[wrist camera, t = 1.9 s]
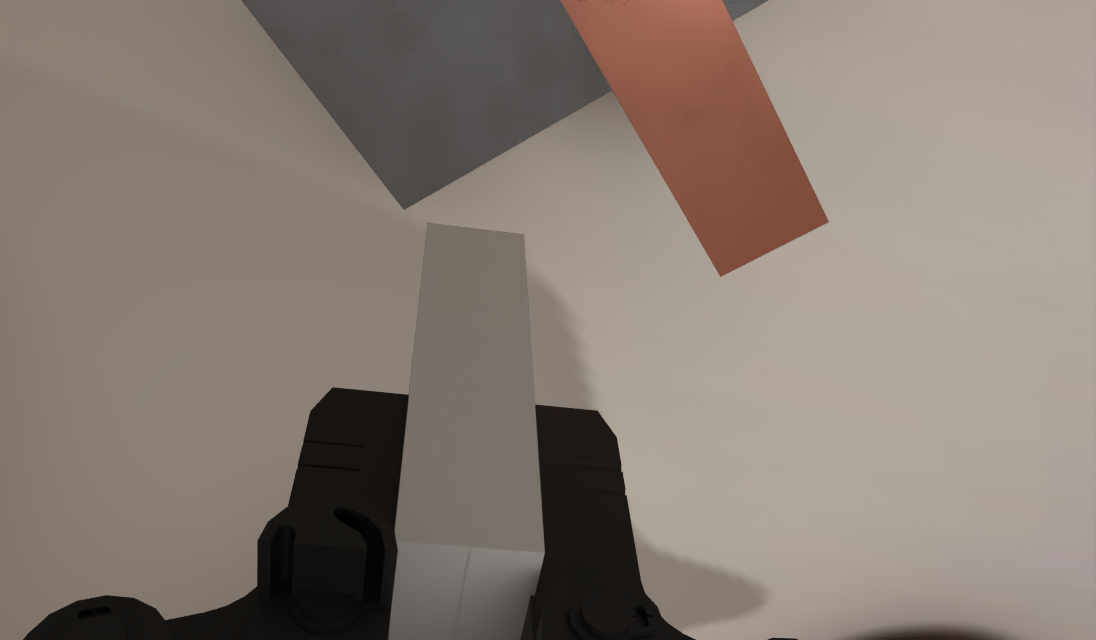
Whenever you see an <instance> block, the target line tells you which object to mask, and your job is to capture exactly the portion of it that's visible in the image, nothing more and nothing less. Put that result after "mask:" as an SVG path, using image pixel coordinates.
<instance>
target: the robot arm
mask: <svg viewBox="0 0 1096 640" xmlns="http://www.w3.org/2000/svg"><path fill="white" fill-rule="evenodd" d="M257 568H258V570H257V571H258V572H257V581H258V582H257V587H256V588H254V589H253V590H252V591H251V592H250V593H248V594H247V595H246V596H245V597H243V598H241V599H239V600H237V601H235V602H233V603H231V604H229V605H227V606H225V607H221V608H218V609H215V610H211V611H208V612H205V613H199V614H194V615H189V616H184V617H180V618H175V619H169V620H164V618H163V617H162V616H161V615H160V613H159V612H158V611H157V609H156V608H154V607H152V606H149V605H147V604H145V603H143V602H141V601H139V600H137V599H135V598H129V597H119V596H108V595H106V596H101V597H95V598H90V599H85V600H79V601H76V602H74V603H72V604H70V605H68V606H66V607H64V608H61V609H59V610H57V611H55V612H53V613H51V614H49V615H48V616H47V617H46V618H45V619H44V620H43V621H42V622H41V623H39V624H38V625H37V626H36V627H35V628H34V629H33V630H32V631H30V633H28V634H27V636H26V637H25V638H24V639H23V640H695V639H693V638H691V637H689V636H687V635H685V634H683V633H681V632H680V631H678V630H677V629H675V628H674V627H673V626H671V625H670V624H668V623H667V622H666V621H665V620H664V619H663V618H662V617H661V614H660V612H659V609H658V607H657V606H656V605H655V603H654V602H652V601H651V599H650V598H649V597H648V596H647V595H646V594H645V592H644V589H643V586H642V583H641V579H640V573H639V567H638V561H637V555H636V549H635V543H634V537H633V531H632V525H631V519H630V513H629V507H628V501H627V495H625V484H624V478H623V472H621V460H620V454H619V448H618V442H617V437H616V436H615V434H614V433H613V432H612V430H611V429H610V427H609V426H608V425H607V423H606V422H605V421H604V419H603V418H602V416H601V415H600V414H599V412H598V411H595V410H584V409H574V408H563V407H554V406H543V405H535V396H534V381H533V366H532V350H531V336H530V320H529V304H528V289H527V274H526V258H525V243H524V234H516V233H508V232H499V231H491V230H483V229H475V228H466V227H458V226H450V225H442V224H433V223H428V224H427V233H426V242H425V251H424V261H423V269H422V278H421V287H420V296H419V305H418V314H417V323H416V332H415V341H414V350H413V359H412V368H411V377H410V387H409V395H405V394H395V393H384V392H374V391H364V390H354V389H344V388H332V389H331V390H330V391H329V392H328V393H327V394H326V395H325V396H324V398H322V399H321V400H320V402H319V403H318V404H317V405H316V406H315V407H314V408H313V409H312V410H311V411H310V415H309V420H308V424H307V428H306V432H305V437H304V442H303V446H302V449H301V453H300V458H299V462H298V469H297V470H296V474H295V479H294V483H293V487H292V491H291V496H290V500H289V504H288V507H286V508H285V509H284V510H283V511H281V512H280V513H279V514H277V515H276V516H275V517H274V518H272V519H271V520H270V521H268V523H267V525H266V526H265V528H264V530H263V532H262V534H261V536H260V537H259V539H258V567H257ZM768 640H798V639H791V638H771V639H768Z"/></svg>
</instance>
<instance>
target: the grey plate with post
mask: <svg viewBox="0 0 1096 640" xmlns="http://www.w3.org/2000/svg"><path fill="white" fill-rule="evenodd" d="M242 1H243V3H244V4H245V5H246V6H247V8H248V9H249V10H250V12H251V13H252V14H253V16H254V17H255V18H256V19H257V21H258V22H259V23H260V25H261V26H262V27H263V28H264V30H265V31H266V32H267V34H268V35H269V36H270V37H271V39H272V40H273V41H274V43H275V44H276V45H277V47H278V48H279V49H280V50H281V52H282V53H283V54H284V56H285V57H286V58H287V59H288V61H289V62H290V63H291V65H292V66H293V67H294V68H295V70H296V71H297V72H298V74H299V75H300V76H301V78H302V79H303V80H304V81H305V83H306V84H307V85H308V87H309V88H310V89H311V90H312V92H313V93H314V94H315V96H316V97H317V98H318V99H319V101H320V102H321V103H322V105H323V106H324V107H325V109H326V110H327V111H328V112H329V114H330V115H331V116H332V118H333V119H334V120H335V121H336V123H337V124H338V125H339V127H340V128H341V129H342V130H343V132H344V133H345V134H346V136H347V137H348V138H349V140H350V141H351V142H352V143H353V145H354V146H355V147H356V149H357V150H358V151H359V152H360V154H361V155H362V156H363V158H364V159H365V160H366V161H367V163H368V164H369V165H370V167H371V168H372V169H373V171H374V172H375V173H376V174H377V176H378V177H379V178H380V180H381V181H382V182H383V183H384V185H385V186H386V187H387V189H388V190H389V191H390V192H391V194H392V195H393V196H394V198H395V199H396V200H397V202H398V203H399V204H400V205H401V207H402V208H403V209H404V210H405V209H406V208H408V207H410V206H411V205H413V204H415V203H417V202H418V201H420V200H422V199H424V198H425V197H427V196H429V195H431V194H432V193H434V192H436V191H438V190H439V189H441V188H443V187H445V186H446V185H448V184H450V183H451V182H453V181H455V180H457V179H458V178H460V177H462V176H464V175H465V174H467V173H469V172H471V171H472V170H474V169H476V168H478V167H479V166H481V165H483V164H485V163H486V162H488V161H490V160H492V159H493V158H495V157H497V156H498V155H500V154H502V153H504V152H505V151H507V150H509V149H511V148H512V147H514V146H516V145H518V144H519V143H521V142H523V141H525V140H526V139H528V138H530V137H532V136H533V135H535V134H537V133H538V132H540V131H542V130H544V129H545V128H547V127H549V126H551V125H552V124H554V123H556V122H558V121H559V120H561V119H563V118H565V117H566V116H568V115H570V114H572V113H573V112H575V111H577V110H578V109H580V108H582V107H584V106H585V105H587V104H589V103H591V102H592V101H594V100H596V99H598V98H599V97H601V96H603V95H605V94H606V93H608V92H610V91H612V89H611V87H610V85H609V84H608V82H607V80H606V78H605V77H604V75H603V73H602V72H601V70H600V68H599V66H598V65H597V63H596V61H595V59H594V58H593V56H592V54H591V53H590V51H589V49H588V47H587V46H586V44H585V42H584V40H583V39H582V37H581V35H580V34H579V32H578V30H577V28H576V27H575V25H574V23H573V22H572V20H571V18H570V16H569V15H568V13H567V11H566V9H565V8H564V6H563V4H562V3H561V1H560V0H242ZM722 1H723V3H724V5H725V7H726V9H727V11H728V13H729V15H730V18H731V20H732V21H733V20H735V19H737V18H739V17H740V16H742V15H744V14H745V13H747V12H749V11H751V10H752V9H754V8H756V7H758V6H759V5H761V4H763V3H765V2H766V1H768V0H722Z"/></svg>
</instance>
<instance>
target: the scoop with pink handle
mask: <svg viewBox="0 0 1096 640" xmlns="http://www.w3.org/2000/svg"><path fill="white" fill-rule="evenodd" d="M560 1H561V3H562V4H563V6H564V8H565V9H566V11H567V13H568V15H569V16H570V18H571V20H572V22H573V23H574V25H575V27H576V28H577V30H578V32H579V34H580V35H581V37H582V39H583V40H584V42H585V44H586V46H587V47H588V49H589V51H590V53H591V54H592V56H593V58H594V59H595V61H596V63H597V65H598V66H599V68H600V70H601V72H602V73H603V75H604V77H605V78H606V80H607V82H608V84H609V85H610V87H611V89H612V91H613V92H614V94H615V96H616V97H617V99H618V101H619V103H620V104H621V106H622V108H623V109H624V111H625V113H626V115H627V116H628V118H629V120H630V122H631V123H632V125H633V127H634V128H635V130H636V132H637V134H638V135H639V137H640V139H641V141H642V142H643V144H644V146H645V147H646V149H647V151H648V153H649V154H650V156H651V158H652V159H653V161H654V163H655V165H656V166H657V168H658V170H659V172H660V173H661V175H662V177H663V178H664V180H665V182H666V184H667V185H668V187H669V189H670V191H671V192H672V194H673V196H674V197H675V199H676V201H677V203H678V204H679V206H680V208H681V209H682V211H683V213H684V215H685V216H686V218H687V220H688V222H689V223H690V225H691V227H692V228H693V230H694V232H695V234H696V235H697V237H698V239H699V241H700V242H701V244H702V246H703V247H704V249H705V251H706V253H707V254H708V256H709V258H710V260H711V261H712V263H713V265H714V266H715V268H716V270H717V272H718V273H719V275H720V277H721V276H723V275H725V274H727V273H729V272H731V271H733V270H735V269H737V268H739V267H741V266H743V265H745V264H747V263H749V262H751V261H753V260H755V259H757V258H759V257H761V256H763V255H765V254H767V253H768V252H770V251H772V250H774V249H776V248H778V247H780V246H782V245H784V244H786V243H788V242H790V241H792V240H794V239H796V238H798V237H800V236H802V235H804V234H806V233H808V232H810V231H812V230H814V229H816V228H818V227H820V226H822V225H824V224H826V223H828V222H829V221H828V219H827V217H826V215H825V213H824V211H823V209H822V207H821V205H820V203H819V200H818V198H817V196H816V194H815V192H814V190H813V188H812V186H811V184H810V182H809V180H808V178H807V176H806V173H805V171H804V169H803V167H802V165H801V163H800V161H799V159H798V157H797V155H796V153H795V151H794V149H793V146H792V144H791V142H790V140H789V138H788V136H787V134H786V132H785V130H784V128H783V126H782V124H781V121H780V119H779V117H778V115H777V113H776V111H775V109H774V107H773V105H772V103H771V101H770V99H769V97H768V94H767V92H766V90H765V88H764V86H763V84H762V82H761V80H760V78H759V76H758V74H757V72H756V70H755V67H754V65H753V63H752V61H751V59H750V57H749V55H748V53H747V51H746V49H745V47H744V45H743V42H742V40H741V38H740V36H739V34H738V32H737V30H736V28H735V26H734V24H733V22H732V20H731V18H730V15H729V13H728V11H727V9H726V7H725V5H724V3H723V1H722V0H560Z"/></svg>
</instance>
